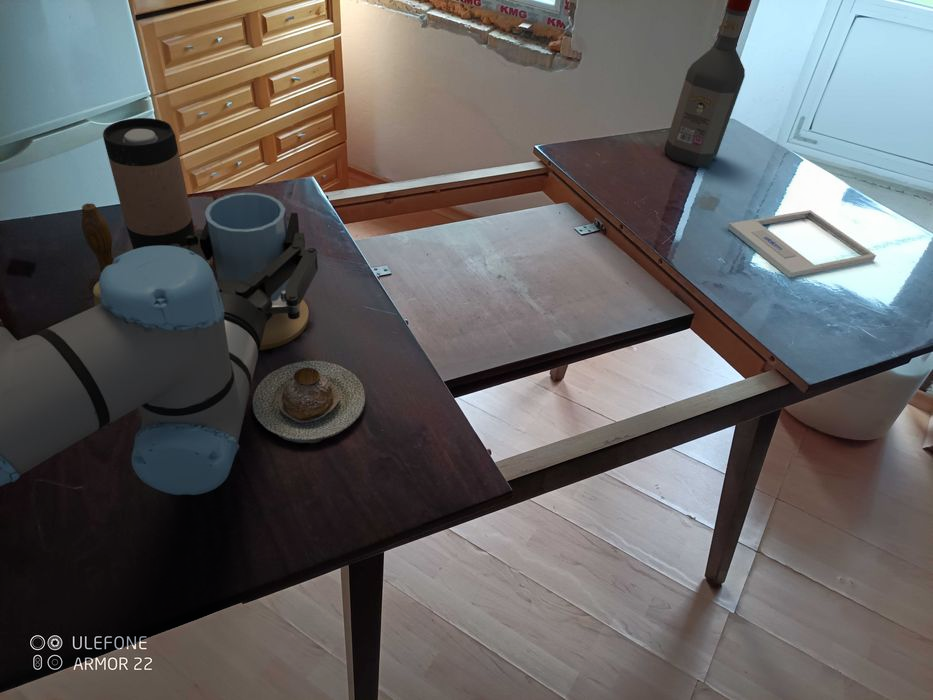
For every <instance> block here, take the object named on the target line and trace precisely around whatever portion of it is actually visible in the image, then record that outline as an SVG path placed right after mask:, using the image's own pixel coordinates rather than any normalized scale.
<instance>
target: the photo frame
mask: <svg viewBox="0 0 933 700" xmlns="http://www.w3.org/2000/svg"><path fill="white" fill-rule="evenodd" d="M805 218H809V219H810V220H811V221H813V222H814V223H816V224H817V225H818V226H819V227H821V228H823V229H824V230H825V231H827V232H829V233H830V234H831V235H833V236H834V237H836V238H837V239H838V240H840V242H841V241H842V243H844V244H845V245H847V246H849V247H850V248H851V249H853V250H854V251H856V252H857V253H859V254H860V255H857V256H853V257H849V258H843V259H838V260H833V261H828V262H822V263H818V264H814V263H813V262H812V261H810V259H809V260H808V259H807V258H806V257H805V256H804V255H802V254H801V253H800V252H798V251H797V250H795V249H794V248H793V247H791V245H789V244H787V243H786V242H785V241H784V240H782V239H781V238H780V237H778V236H777V234H775V233H773V231H770V229H768V228H767V227H765V226H764V225H769V224H775V223H783V222H787V221H794V220H800V219H805ZM727 229H728V230H729V231H730V232H731V233H733V234H734V235H735V236H736V237H738V238H739V239H740V240H742V241H743V242H744V243H745V244H747V245H748V246H749V247H750V248H752V250H754V251H755V252H757V253H758V254H759V255H760V256H761V257H763V259H765V260H766V261H768V262H769V263H770V264H771V265H772V266H774V267H775V268H776V269H778V270H779V271H780V272H781V273H783V274H784V275H785V276H787V278H790V279H791V278H795V277H800V276H804V275H808V274H815V273H819V272H825V271H829V270H835V269H839V268H843V267H848V266H854V265H858V264H862V263H868V262H873V261H875V259H876V257H877V255H876V254H875V253H874V252H872V251H870V250H869V249H868V248H867V247H865V246H863V245H862V244H860V243H859V242H858V241H856V240H854V239H853V238H851V237H850V236H849V235H848V234H846V233H844V232H843V231H842V230H840V229H838V228H837V227H836V226H834V225H833V224H832V223H830V222H829V221H827V220H826V219H824V218H823V217H821V216H820V215H818V214H817V213H815V212H814V211H812V210H811V209H809V210H802V211H796V212H791V213H785V214H778V215H771V216H766V217H760V218H754V219H748V220H747V219H746V220H741V221H736V222H735V221H734V222H729V223H728V226H727Z"/></svg>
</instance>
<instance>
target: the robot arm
mask: <svg viewBox="0 0 933 700" xmlns="http://www.w3.org/2000/svg"><path fill="white" fill-rule="evenodd" d="M299 223H300V222H299V213H298V212H291V213H290V216H289V220H288V223H287V233H286V237H285V241H284V246H285V251H284V252H283V253H282V254H281V255H280V256H279V257H278V258H276V259H275V260H274V261H273V262H272V263H271V264H270V265H269V266H267V267H266V268H265V269H264V270H263V271H262V272H261V273H258V272H256V273H254V274H253V275H252V276H251V277H250V278H249V279H248V280H237V281H232V280H227V279H219V281H218V280H217V278H216V274H215V271H214V270H213V269H212V266H210V264H209V261H211V259H212V258H213V257H212V252H211V247H210V241H209V236H208V230H207V225H206V223H205V224H204V227H203V229H200V228H199V229H196V230H194V235H189V236H187V237H186V241H187V245H186V246H181V247H180V245H179V244H171V245H169V246H163V245H162V246H147V247H141V248H137V249H134V250H133V249H131V250H128V251H125V252H123V253H122V254H120V255H118V256H115V258H113V260H114V262H113V263H112V265H108V266H107V267H105V269H104V270H103V271H102V273H101V272H100V276H99V280H98V282H99V286H100V296H99V298H100V300H101V302H102V303H101V304H99V305H97V306H95V305H94V306H93V307H90V308H88V309H86V310H84V311H82V312H80V313H78V314H75V315H73V316H71V317H69V318H67V319H64V320H62V321H60V322H58V323H55V324H54V325H51V326H48V327H47V328H44V329H42V330H40V331H38V332H34V333H33V334H32V335H30V336H27V337H24V338H21V339H18V340H17V339H16V338H15V336H14V335H13V334H12V333H11V332H10V331H9V330H8V328H7V327H6V326H5V325H4V324H3V320H2V319H1V318H0V487H2V486H4V485H6V484H10V483H11V482H12V483H14V482H16V481H17V480H19V479H20V477H21V476H22V475H23V474H26V473H27V472H28V471H31V470H32V469H33V468H35V467H37V466H39V465H41V464H42V463H43V462H46V461H47V460H48V459H50V458H53V456H55V455H57V454H58V453H60V452H62V451H63V450H66V449H67V448H69V447H70V446H73V445H74V444H76V443H78V442H80V441H81V440H83V439H84V438H86V437H88V436H89V435H92V434H93V433H95V432H96V431H99V430H100V429H103V427H105V426H108V425H110V424H111V423H113V422H115V421H117V420H118V419H121V418H123V417H124V416H125V415H127V414H129V413H131V412H132V411H134V410H137V409H138V410H139V413H140V414H139V415H140V417H141V425H140V429H139V430H138V431H137V432H136V433H135V435H134V443H133V444H134V445H133V449H132V453H131V466H132V469H133V471H134V473H135V474H136V475H137V477H138V478H139V479H140V480H141V481H142V482H143V483H144V484H146V485H147V486H149V487H150V488H153V489H155V490H157V491H159V492H163V493H166V494H170V495H175V496H181V495H182V496H183V495H190V496H197V495H203V494H205V493H209V492H211V491H213V490H215V489H217V488H218V487H219V486H221V485H222V484H223V483H224V482H225V481H226V480H227V478H228V476H229V475H230V472H231V469H232V466H233V463H234V460H235V457H236V454H237V453H238V451H239V449H240V444H239V440H240V435H241V432H242V427H243V422H244V418H245V413H246V409H247V404H248V401H249V400H248V399H249V395H250V391H251V387H252V382H253V378H254V374H255V371H256V366H257V361H258V358H259V353H260V351H261V350H260V346H261V342H262V338H263V333H264V329H265V324H266V322H267V321H268V320H269V319H270V318H271V317H272V316H273V314H282V313H288V318H290V319H297V318H299V317H300V311H299V305H300V303H301V301H302V299H303V300H304V297H305V295H306V293H307V291H308V290H309V288H310V285H311V283H312V282H313V280H314V278H315V276H316V274H317V272H318V270H319V264H318V263H319V261H318V250H317V249H316V248H314V247H309V248H307V249H306V237H305V233H304V232H300V224H299ZM290 277H291V278H290ZM289 278H290V279H289ZM288 279H289V281H288V283H287V285H286V291H285V290H283V291H281V295H280V296H279V297H278V299H277V300H275V301H271V295H272V294H273V293H274V292H275V291H276V290H278V289H279V288H280V287H281V286H282V285H283V284H284V283H285V282H286V281H287V280H288Z"/></svg>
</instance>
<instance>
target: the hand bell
mask: <svg viewBox="0 0 933 700" xmlns="http://www.w3.org/2000/svg"><path fill="white" fill-rule="evenodd" d="M81 212H82V215H81V231H82V234H83V236H84V239H85V242H86V244H87V245H88V247H89V248H90V250H91V251H92V253H93V254H94V256H95V257H96V259H97V264H98V266H99V267H98V268H99V270H100V274H101V273H102V271H103V270H104V269H105V267H107V266H108V265H112V263H113V262H114V257H113V253H112V247H113V246H112V245H113V240H112V234H111V230H110V227H109V225H108V222H107V220H106V219H105V217H104V216H103V214H102V213H101V212H100V211H99V210H98V208H97V205H96V204H95V203H92V202H91V203H85V204H83V205H82V206H81ZM92 293H93V299H94V307H95V306H97V305H99V304H101V303H102V302H101V300H100V298H99V296H100V286H99V281H97V282H96V283H95V284H94V286H93V288H92Z"/></svg>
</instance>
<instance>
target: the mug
mask: <svg viewBox="0 0 933 700" xmlns="http://www.w3.org/2000/svg"><path fill="white" fill-rule="evenodd" d="M204 219H205V224H206V225H207V230H208V236H209V241H210V247H211V252H212V257H211V258H212V262H213V267H214V274H215V276H216V278H217V280H218V281H219V279H227V280H232V281H237V280H248V279H249V278H250V277H251V276H252V275H253V274H254V273H256V272H258V273H261V272H262V271H263V270H264V269H265V268H266V267H267V266H269V265H270V264H271V263H272V262H273V261H274V260H275V259H276V258H278V257H279V256H280V255H281V254H282V253H283V252H284V251H285V246H284V241H285V237H286V233H287V228H288V223H287V214H286V207H285V206H284V205H283V203H282V201H280V200H279V199H276V198H275V197H274V196H271V195H267V194H264V193H259V192H239V193H232V194H231V193H230V194H228V195H224V196H222V197H218V198H217V199H215V200H214V201H212V202H210V203H209V204H208V205H207V207H206V209H205V211H204ZM290 278H291V277H290ZM290 278H289V279H290ZM289 279H288V280H287V281H286V282H285V283H284V284H283V285H282V286H281V287H280V288H279V289H278V290H276V291H275V292H274V293H273V294H272V295H271V301H275V300H277V299H278V297H279V296H280V295H281V291H283V290H285V291H286V285H287V283H288V281H289Z"/></svg>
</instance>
